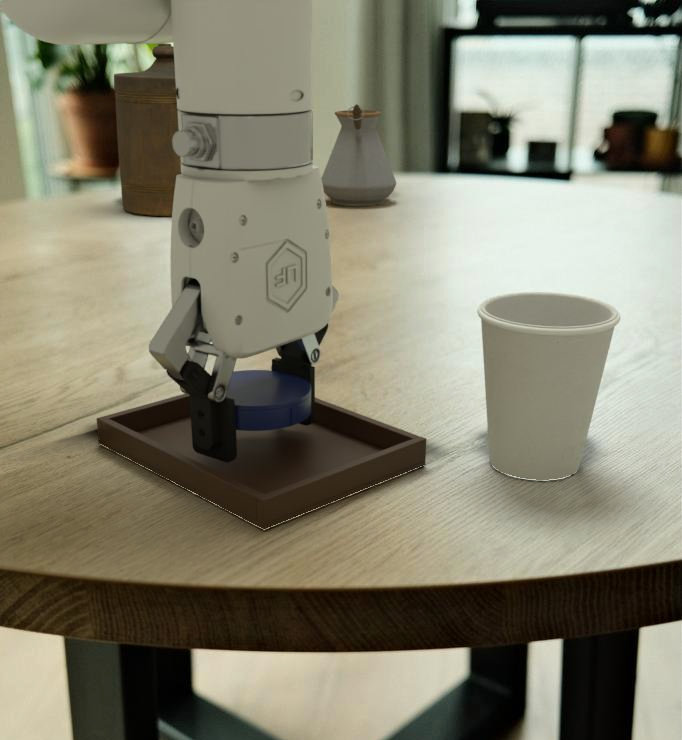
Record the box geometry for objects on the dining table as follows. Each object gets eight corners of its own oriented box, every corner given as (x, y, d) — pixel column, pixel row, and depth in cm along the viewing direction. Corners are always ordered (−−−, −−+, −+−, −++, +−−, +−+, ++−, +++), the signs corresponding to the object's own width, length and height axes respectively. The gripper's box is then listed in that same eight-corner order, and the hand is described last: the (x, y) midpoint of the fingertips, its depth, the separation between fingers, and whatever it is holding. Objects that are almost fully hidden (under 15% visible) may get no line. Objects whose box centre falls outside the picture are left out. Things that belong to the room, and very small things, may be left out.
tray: (98, 444, 67) (95, 418, 67) (254, 398, 76) (253, 374, 75) (264, 531, 56) (263, 500, 55) (425, 466, 64) (426, 438, 63)
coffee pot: (322, 195, 160) (321, 93, 153) (395, 196, 159) (398, 93, 153) (313, 220, 141) (312, 104, 134) (396, 221, 140) (399, 104, 134)
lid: (335, 413, 64) (335, 389, 64) (247, 440, 60) (247, 414, 59) (263, 385, 69) (262, 363, 68) (177, 409, 65) (175, 384, 64)
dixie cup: (441, 459, 65) (448, 306, 61) (527, 429, 70) (540, 284, 66) (541, 503, 59) (557, 336, 55) (628, 467, 64) (650, 311, 60)
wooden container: (244, 209, 148) (238, 43, 139) (154, 220, 140) (141, 45, 131) (191, 196, 159) (182, 41, 149) (105, 206, 151) (89, 43, 141)
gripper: (185, 167, 49) (204, 499, 57) (387, 136, 62) (380, 412, 70) (82, 154, 53) (113, 466, 61) (292, 128, 66) (295, 390, 74)
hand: (255, 435), depth 65 cm, fingers closed on lid, 7 cm apart
